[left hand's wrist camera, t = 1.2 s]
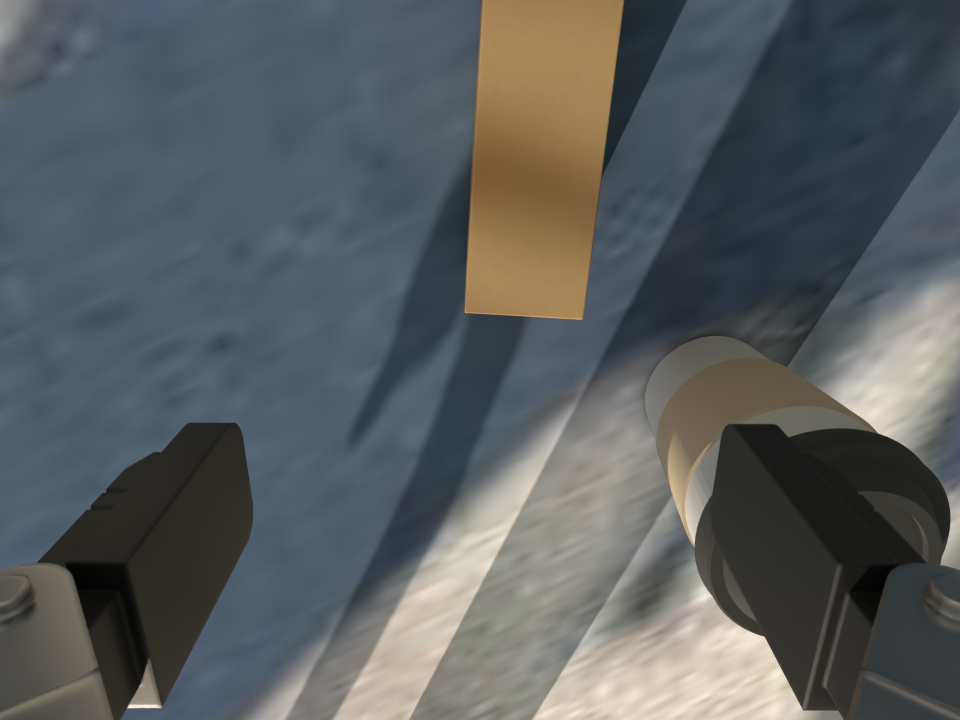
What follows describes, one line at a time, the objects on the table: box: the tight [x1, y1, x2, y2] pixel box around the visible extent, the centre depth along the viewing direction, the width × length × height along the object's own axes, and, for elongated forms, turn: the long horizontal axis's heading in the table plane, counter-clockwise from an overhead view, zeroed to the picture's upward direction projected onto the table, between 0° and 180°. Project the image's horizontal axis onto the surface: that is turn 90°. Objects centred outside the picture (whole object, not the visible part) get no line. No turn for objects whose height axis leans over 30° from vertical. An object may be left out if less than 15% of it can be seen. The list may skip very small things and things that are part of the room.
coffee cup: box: [645, 336, 950, 637], centre depth 30 cm, size 9×9×15 cm
